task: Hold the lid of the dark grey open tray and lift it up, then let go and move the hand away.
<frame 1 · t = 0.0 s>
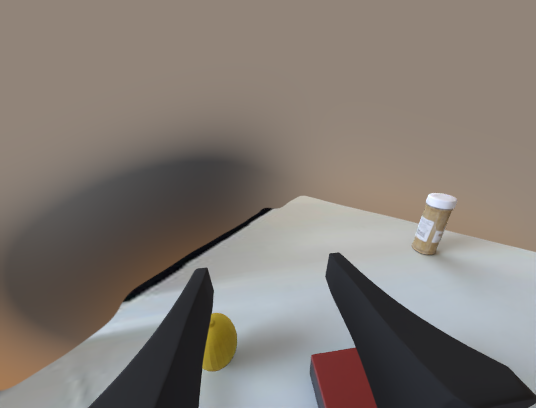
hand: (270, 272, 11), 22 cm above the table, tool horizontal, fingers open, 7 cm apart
sprinkles bottle: (422, 249, 45), on the table
lemon: (220, 359, 26), on the table
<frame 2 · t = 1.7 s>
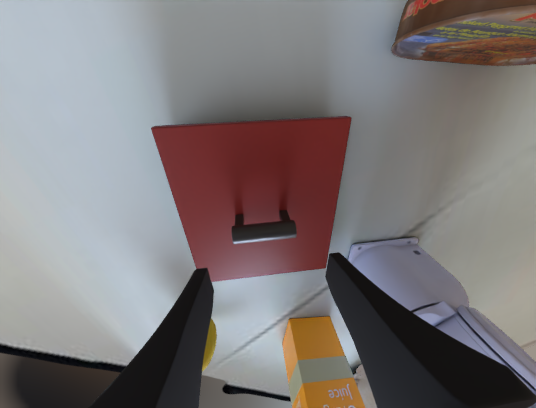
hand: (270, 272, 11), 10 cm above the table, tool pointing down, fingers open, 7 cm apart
tin: (456, 39, 16), on the table
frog: (360, 372, 50), on the table
lemon: (200, 311, 29), on the table
lid: (262, 224, 16), point 5 cm above the table, hinge at 0.0°
orange juice: (304, 329, 36), on the table
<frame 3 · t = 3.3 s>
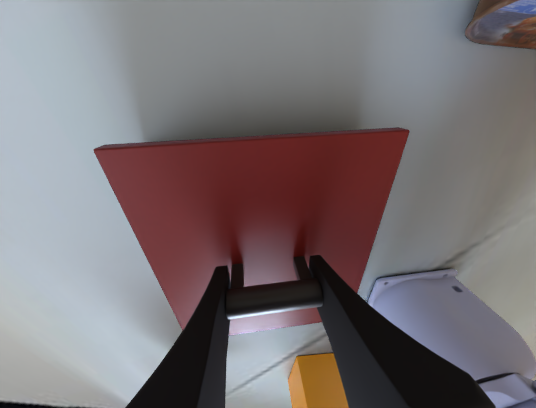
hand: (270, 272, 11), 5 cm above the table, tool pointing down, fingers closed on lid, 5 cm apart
lid: (270, 280, 11), point 5 cm above the table, hinge at 0.0°, touching gripper
orange juice: (313, 365, 31), on the table
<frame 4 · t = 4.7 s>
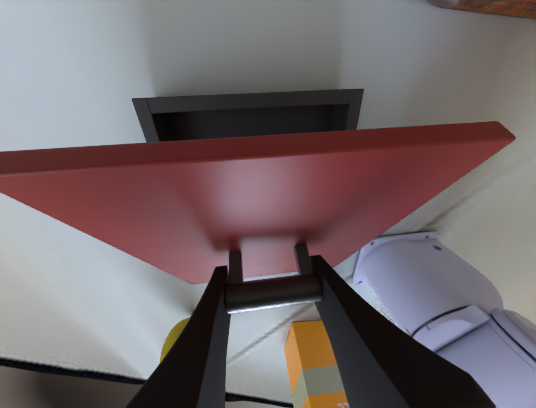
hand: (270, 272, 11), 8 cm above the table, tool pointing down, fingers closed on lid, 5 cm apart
dark grey open tray: (257, 184, 18), on the table
lemon: (194, 314, 27), on the table
lid: (270, 269, 11), point 9 cm above the table, hinge at 29.0°, touching gripper
orange juice: (308, 333, 33), on the table
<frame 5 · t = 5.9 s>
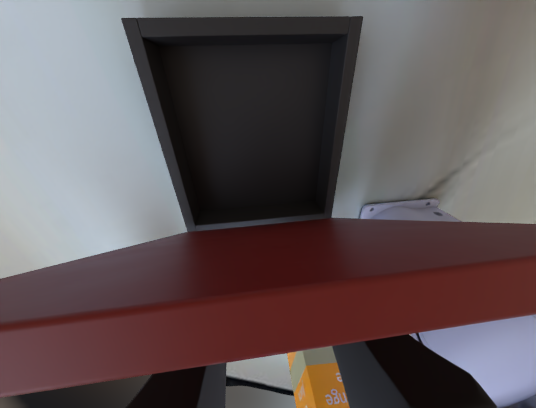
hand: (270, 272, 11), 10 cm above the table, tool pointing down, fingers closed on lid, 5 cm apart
dark grey open tray: (254, 139, 17), on the table
lid: (271, 268, 10), point 11 cm above the table, hinge at 56.6°, touching gripper
orange juice: (307, 312, 33), on the table
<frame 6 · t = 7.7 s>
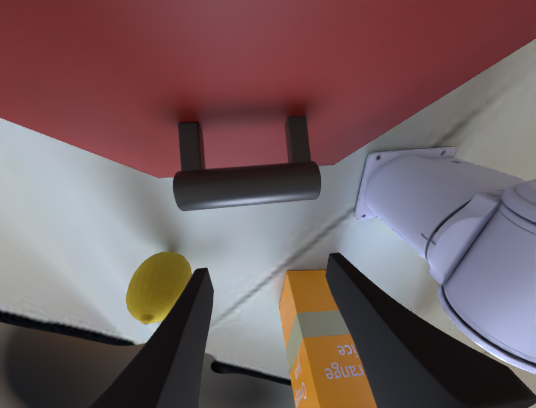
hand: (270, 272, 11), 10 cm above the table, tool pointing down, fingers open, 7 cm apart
lemon: (174, 253, 23), on the table
lid: (246, 154, 7), point 11 cm above the table, hinge at 56.8°
orange juice: (305, 288, 30), on the table
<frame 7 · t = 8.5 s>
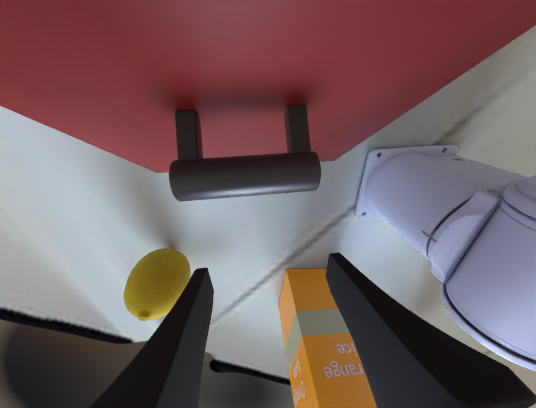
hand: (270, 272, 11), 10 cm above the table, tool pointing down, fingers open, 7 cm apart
lemon: (173, 250, 23), on the table
lid: (245, 144, 7), point 11 cm above the table, hinge at 56.8°
orange juice: (305, 287, 30), on the table
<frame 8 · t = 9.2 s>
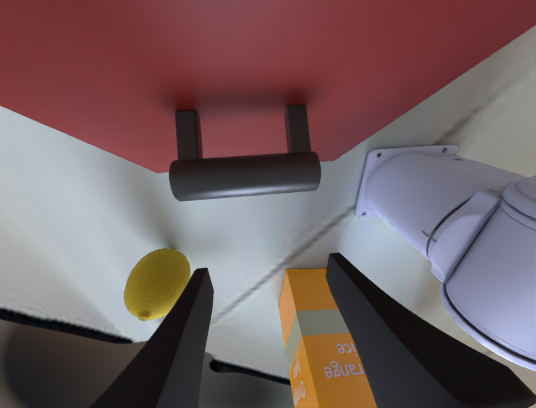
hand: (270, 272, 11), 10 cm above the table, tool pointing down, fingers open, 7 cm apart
lemon: (173, 250, 23), on the table
lid: (245, 144, 7), point 11 cm above the table, hinge at 56.8°
orange juice: (305, 287, 30), on the table
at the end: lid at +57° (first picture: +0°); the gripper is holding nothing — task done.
